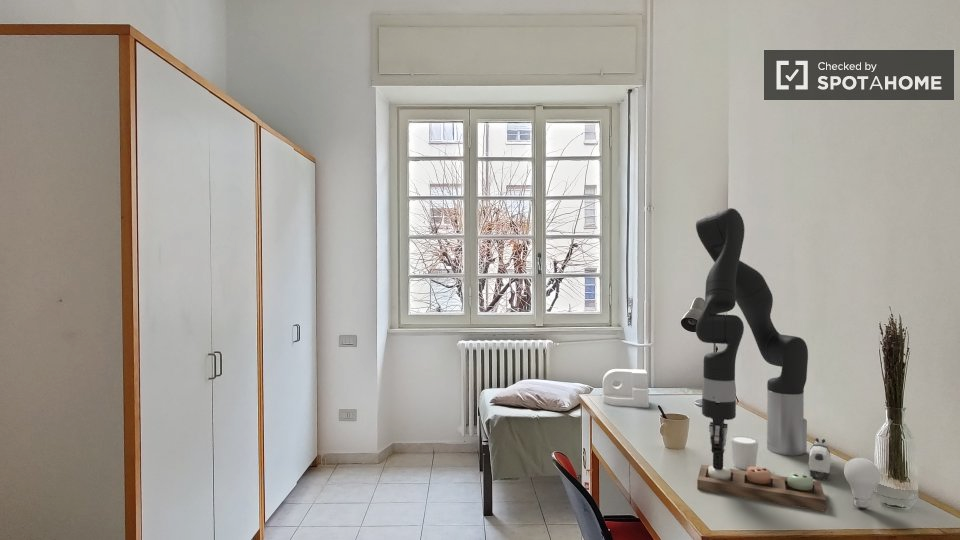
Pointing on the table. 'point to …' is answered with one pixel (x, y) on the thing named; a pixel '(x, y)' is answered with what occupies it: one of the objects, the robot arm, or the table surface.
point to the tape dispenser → (626, 388)
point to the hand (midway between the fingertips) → (718, 468)
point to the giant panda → (819, 459)
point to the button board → (764, 489)
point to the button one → (719, 473)
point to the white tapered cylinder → (743, 451)
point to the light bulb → (862, 480)
